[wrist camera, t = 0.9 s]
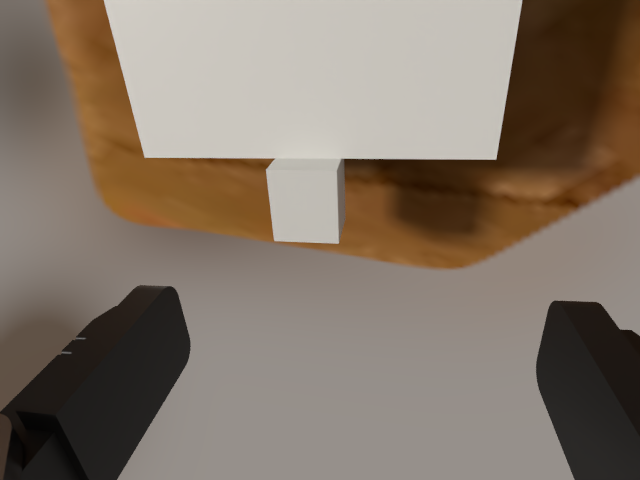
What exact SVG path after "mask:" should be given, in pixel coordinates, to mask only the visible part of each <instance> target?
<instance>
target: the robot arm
mask: <svg viewBox="0 0 640 480" xmlns="http://www.w3.org/2000/svg"><path fill="white" fill-rule="evenodd" d="M189 354H190V338H189V334H188V330H187V326H186V322H185V319H184V315H183V311H182V307H181V304H180V300H179V296H178V293H177V292H176V290H175V289H174V288H173V287H171V286H145V285H144V286H143V285H140V286H137V287H136V288H135V289H133V290H132V291H131V292H130V293H129V295H127V297H126V298H125V299H124V300H123V301H122V302H121V303H120V304H119V305H118V306H115V307H113V308H112V309H110V310H108V311H107V312H105V313H104V314H102V315H100V316H99V317H97V318H96V319H94V320H92V321H91V322H90V323H89V324H88V325H87V326H86V327H85V328H84V329H83V330H82V331H81V332H80V333H79V334H78V336H76V340H72V341H71V342H70V343H69V345H67V346H66V347H65V348H64V349H63V350H62V354H61V355H57V356H56V357H55V358H54V359H53V360H52V361H51V362H50V363H49V364H48V365H47V366H46V367H45V368H44V369H43V370H42V371H41V372H40V373H39V374H38V375H37V376H36V377H35V378H34V379H33V380H32V381H31V382H30V383H29V384H28V385H27V386H26V387H25V388H24V389H23V390H22V391H21V392H20V393H19V394H18V395H17V396H16V397H15V398H14V399H13V400H12V401H11V402H10V403H9V404H8V405H7V406H6V407H5V408H4V409H3V410H2V411H1V412H0V480H117V479H118V477H119V475H120V474H121V472H122V470H123V468H124V467H125V465H126V464H127V462H128V460H129V459H130V457H131V455H132V454H133V452H134V450H135V449H136V447H137V446H138V444H139V442H140V441H141V439H142V437H143V436H144V434H145V432H146V431H147V429H148V427H149V426H150V424H151V422H152V421H153V419H154V417H155V416H156V414H157V412H158V411H159V409H160V407H161V406H162V404H163V402H164V401H165V399H166V397H167V396H168V394H169V393H170V391H171V389H172V387H173V386H174V384H175V383H176V381H177V379H178V378H179V376H180V374H181V373H182V371H183V369H184V368H185V366H186V364H187V362H188V359H189ZM536 375H537V382H538V387H539V390H540V393H541V396H542V398H543V401H544V403H545V406H546V409H547V411H548V413H549V416H550V418H551V421H552V423H553V426H554V429H555V431H556V434H557V436H558V439H559V441H560V444H561V446H562V449H563V451H564V454H565V456H566V459H567V462H568V464H569V466H570V469H571V472H572V474H573V477H574V479H575V480H640V336H639V335H637V334H636V333H635V332H633V331H632V330H620V329H619V328H618V327H617V325H616V324H615V322H614V321H613V320H612V318H611V317H610V316H609V314H608V313H607V311H606V310H605V309H604V308H603V306H602V305H601V304H599V303H597V302H577V301H553V302H552V303H551V305H550V306H549V309H548V313H547V317H546V322H545V326H544V331H543V335H542V340H541V344H540V348H539V352H538V357H537V364H536Z"/></svg>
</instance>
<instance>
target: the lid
mask: <svg viewBox="0 0 640 480" xmlns="http://www.w3.org/2000/svg"><path fill="white" fill-rule="evenodd" d="M104 3H105V6H106V10H107V14H108V18H109V22H110V26H111V29H112V33H113V37H114V41H115V45H116V49H117V53H118V56H119V60H120V64H121V68H122V72H123V76H124V79H125V83H126V87H127V91H128V95H129V99H130V103H131V106H132V110H133V114H134V118H135V122H136V126H137V129H138V133H139V137H140V141H141V145H142V149H143V153H144V156H145V158H275V160H274V161H273V162H272V163H271V164H270V166H269V167H268V168H267V169H266V174H267V182H268V191H269V200H270V208H271V217H272V226H273V234H274V241H288V242H312V243H337V244H339V241H340V237H341V233H342V229H343V225H344V221H345V180H344V159H471V160H496V158H497V152H498V146H499V140H500V134H501V128H502V122H503V116H504V110H505V103H506V97H507V91H508V85H509V79H510V73H511V67H512V61H513V55H514V48H515V42H516V36H517V30H518V24H519V18H520V12H521V6H522V0H104Z"/></svg>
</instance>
